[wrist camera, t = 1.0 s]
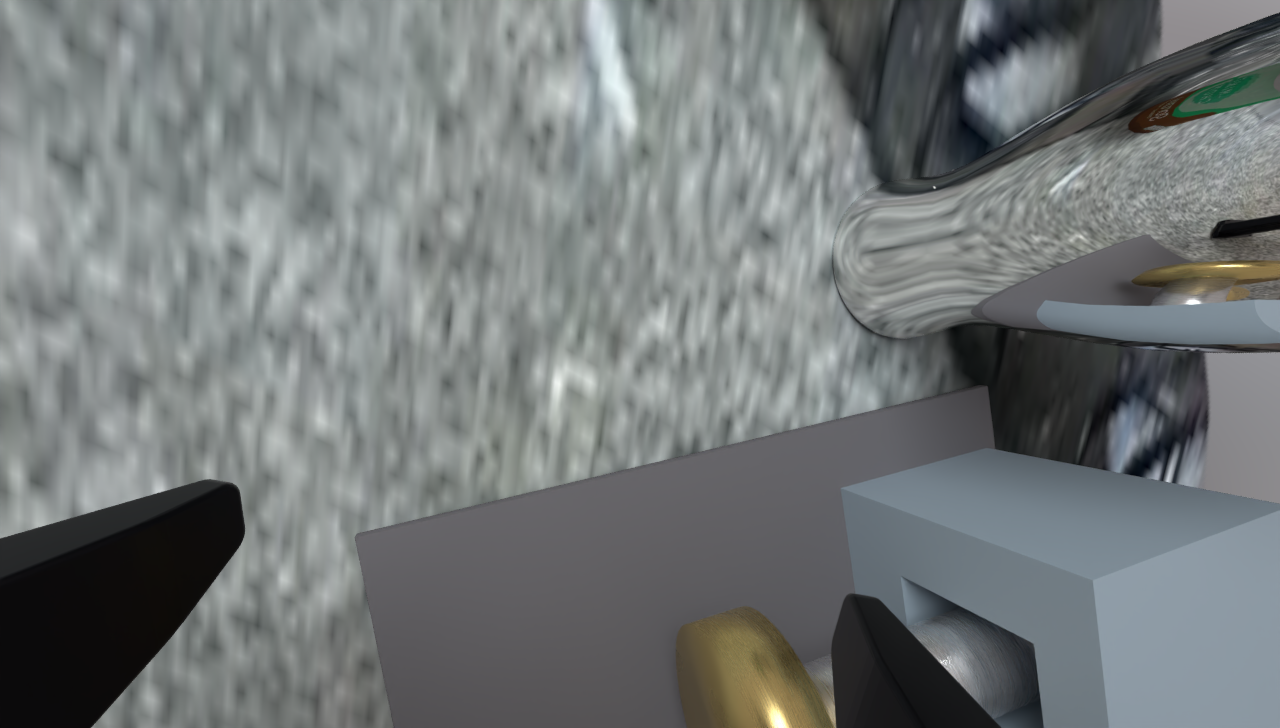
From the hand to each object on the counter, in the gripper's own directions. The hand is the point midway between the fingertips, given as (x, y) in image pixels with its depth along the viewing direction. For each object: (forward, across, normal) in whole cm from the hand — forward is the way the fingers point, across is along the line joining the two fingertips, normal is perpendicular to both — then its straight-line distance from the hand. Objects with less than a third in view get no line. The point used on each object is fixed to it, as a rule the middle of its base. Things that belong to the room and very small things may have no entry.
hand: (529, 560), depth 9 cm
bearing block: (+14, -12, +10) cm, 21 cm away
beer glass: (+18, -9, -2) cm, 21 cm away
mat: (+11, -5, +11) cm, 16 cm away
